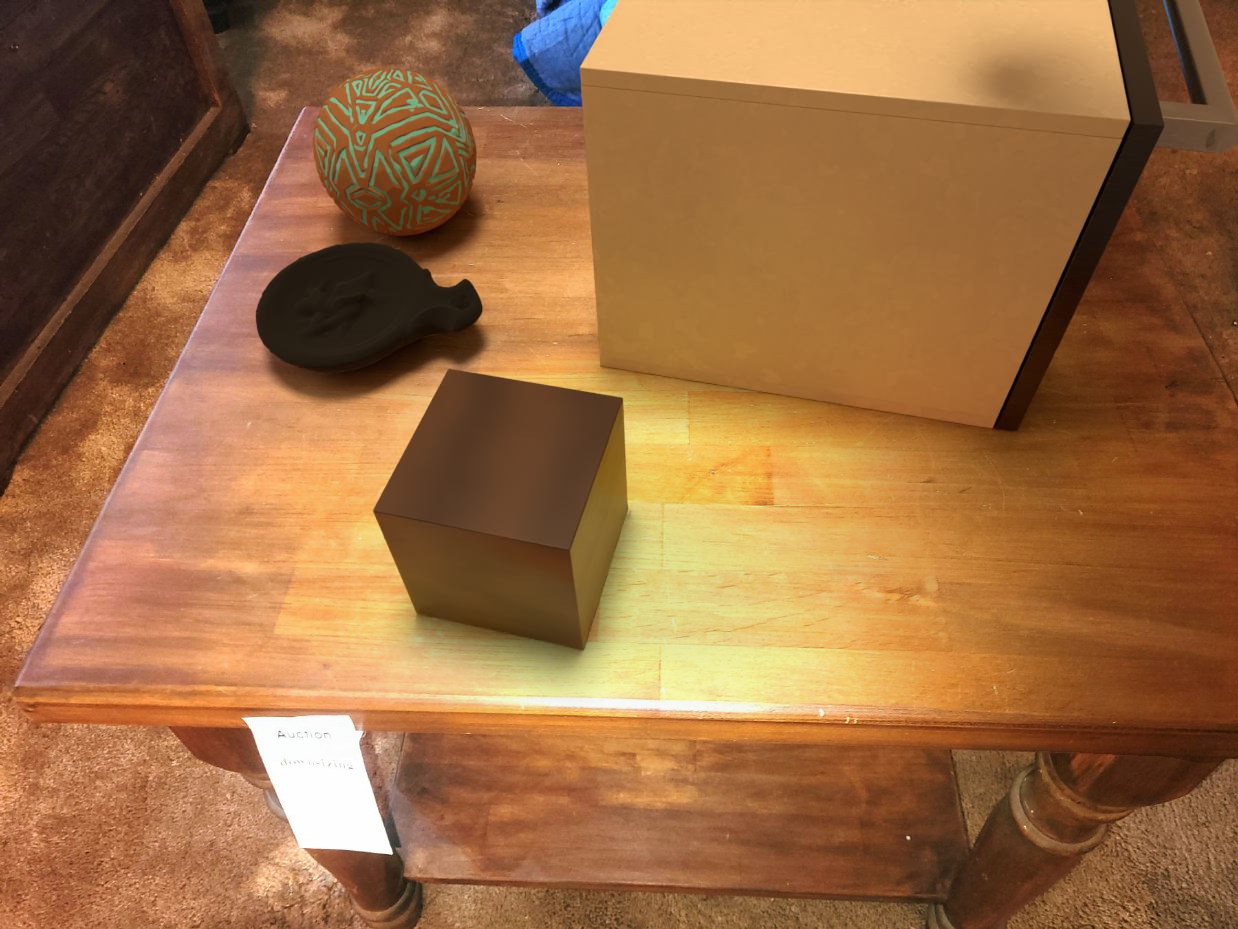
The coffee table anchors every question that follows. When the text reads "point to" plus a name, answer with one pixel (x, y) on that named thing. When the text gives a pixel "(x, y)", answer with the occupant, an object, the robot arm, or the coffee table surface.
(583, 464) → the stand
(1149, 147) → the oven door
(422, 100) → the decorative sphere
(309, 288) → the oil lamp
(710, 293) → the oven
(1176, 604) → the coffee table surface
